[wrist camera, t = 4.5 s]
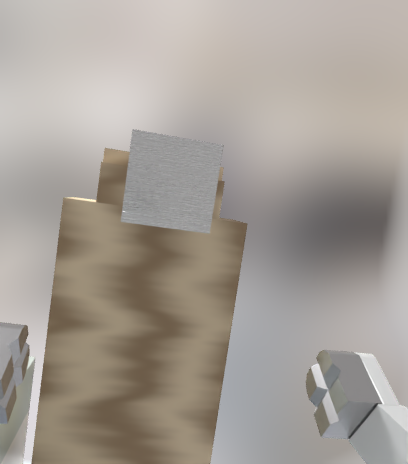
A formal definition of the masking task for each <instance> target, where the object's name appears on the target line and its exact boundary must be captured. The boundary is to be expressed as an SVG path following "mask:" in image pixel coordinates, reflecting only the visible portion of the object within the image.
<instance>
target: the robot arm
mask: <svg viewBox="0 0 408 464" xmlns="http://www.w3.org/2000/svg"><path fill="white" fill-rule="evenodd" d="M27 336H28V327H27V326H26V325H18V324H10V323H0V424H8V421H9V419H10V416H11V413H12V410H13V407H14V405H15V402H16V399H17V395H16V387H17V386H18V385H20V384H21V383H22V382H23V380H24V377H25V374H26V370H27V366H28V361H29V345H28V344H27V343H26V339H27ZM317 361H318V363H317V364H315V365H313V366H312V367H311V368H310V369H309V372H308V373H307V379H306V389H307V394H308V397H309V400H310V401H311V402H312V403H313V404H314V405H315V406H316V410H315V412H314V416H315V420H316V423H317V426H318V429H319V432H320V435H321V437H325V438H338V439H349V442H350V444H351V445H352V446H353V447H354V448H355V450H356V451H357V452H358V454H359V455H360V456H361V457H362V459H363V460H364V461H365V462H366V464H408V408H407V407H406V406H403V405H400V404H399V402H398V400H397V398H396V397H395V394H394V392H393V391H392V389H391V387H390V385H389V383H388V381H387V379H386V377H385V375H384V373H383V372H382V369H381V367H380V365H379V363H378V361H377V359H376V358H375V357H374V356H373V355H372V354H365V353H354V352H346V351H331V350H323V351H321V352H320V353H319V354H318V356H317Z"/></svg>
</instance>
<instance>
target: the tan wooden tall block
mask: <svg viewBox="0 0 408 464" xmlns="http://www.w3.org/2000/svg"><path fill="white" fill-rule="evenodd" d="M129 153H130V152H127V151H120V150H115V149H108V148H105V151H104V159H103V162H101V169H100V177H99V185H98V193H97V200H91V199H83V198H77V197H66V198H63V205H62V214H61V222H60V230H59V238H58V247H57V256H56V264H55V272H54V280H53V289H52V298H51V305H50V314H49V322H48V330H47V339H46V347H45V355H44V364H43V372H42V380H41V389H40V397H39V405H38V414H37V422H36V431H35V439H34V447H33V455H32V464H210V461H211V455H212V448H213V441H214V435H215V429H216V422H217V416H218V409H219V403H220V397H221V390H222V384H223V378H224V371H225V365H226V357H227V352H228V345H229V339H230V333H231V326H232V320H233V313H234V307H235V300H236V294H237V287H238V281H239V275H240V268H241V262H242V255H243V249H244V242H245V236H246V230H247V223H243V222H240V221H236V220H231V219H224V218H219V215H220V208H221V201H222V195H223V187H224V181H222V175H223V167H220V171H219V178H218V184H217V190H216V197H215V203H214V209H213V215H212V222H211V228H210V234H208V233H200V232H193V231H185V230H178V229H170V228H163V227H155V226H148V225H141V224H133V223H126V222H121V215H122V208H123V200H124V192H125V184H126V177H127V169H128V161H129Z"/></svg>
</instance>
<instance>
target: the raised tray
mask: <svg viewBox="0 0 408 464" xmlns="http://www.w3.org/2000/svg"><path fill="white" fill-rule="evenodd" d="M34 365H35V357H29V361H28V366H27V370H26V374H25V377H24V380H23V382H22V383H21V384H20V385H18V386H17V387H16V395H17V399H16V402H15V405H14V407H13V410H12V413H11V416H10V419H9V421H8V424H0V464H23V458H24V450H25V442H26V433H27V425H28V416H29V408H30V399H31V391H32V382H33V374H34Z"/></svg>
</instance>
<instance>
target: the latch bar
mask: <svg viewBox="0 0 408 464" xmlns="http://www.w3.org/2000/svg"><path fill="white" fill-rule="evenodd" d="M222 152H223V145H219V144H213V143H208V142H201V141H196V140H191V139H185V138H179V137H174V136H168V135H162V134H157V133H151V132H145V131H139V130H133V131H132V139H131V146H130V153H129V161H128V169H127V177H126V184H125V192H124V200H123V208H122V215H121V222H126V223H133V224H141V225H148V226H155V227H163V228H170V229H178V230H185V231H193V232H200V233H208V234H210V228H211V222H212V215H213V209H214V203H215V197H216V190H217V184H218V178H219V171H220V165H221V159H222Z"/></svg>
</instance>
